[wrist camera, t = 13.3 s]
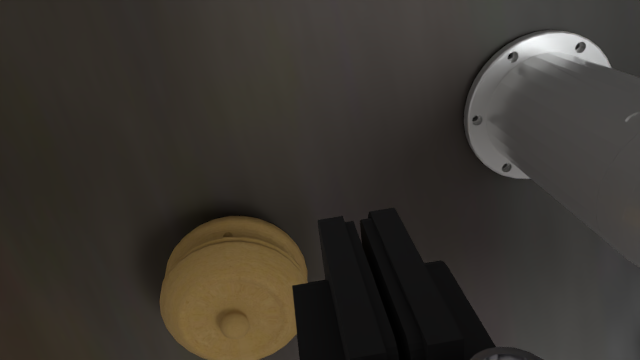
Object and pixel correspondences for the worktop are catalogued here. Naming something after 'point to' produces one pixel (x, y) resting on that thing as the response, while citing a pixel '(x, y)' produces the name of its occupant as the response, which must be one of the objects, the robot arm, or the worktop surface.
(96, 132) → the worktop surface
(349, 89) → the worktop surface
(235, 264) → the pot
